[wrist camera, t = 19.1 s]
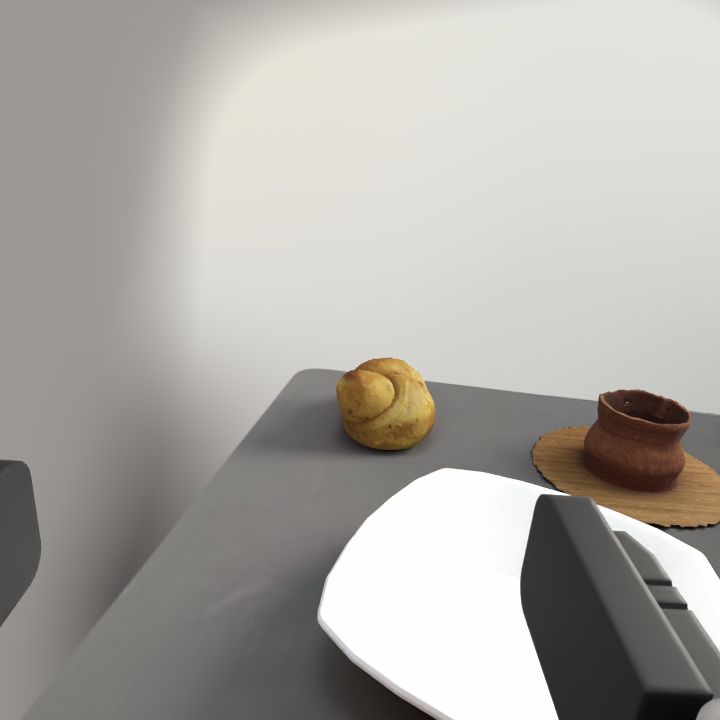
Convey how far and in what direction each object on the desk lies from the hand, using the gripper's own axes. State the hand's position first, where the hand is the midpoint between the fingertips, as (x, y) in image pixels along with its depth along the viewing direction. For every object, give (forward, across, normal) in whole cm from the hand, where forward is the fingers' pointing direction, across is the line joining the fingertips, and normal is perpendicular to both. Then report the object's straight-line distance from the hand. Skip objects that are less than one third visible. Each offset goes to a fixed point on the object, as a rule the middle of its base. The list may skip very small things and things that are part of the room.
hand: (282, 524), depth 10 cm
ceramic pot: (+42, -28, +23) cm, 56 cm away
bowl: (+20, -12, +23) cm, 33 cm away
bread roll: (+48, -6, +24) cm, 54 cm away
